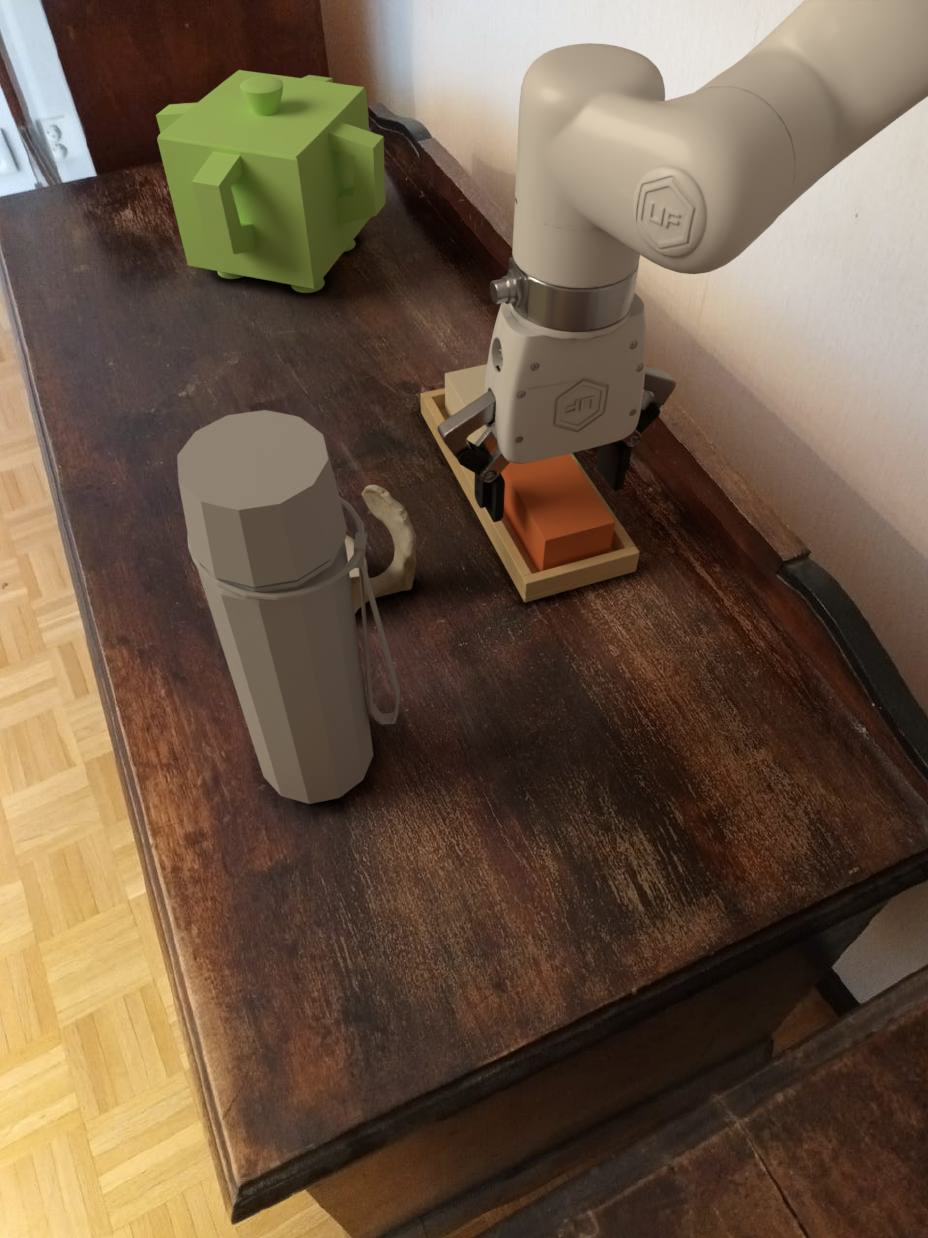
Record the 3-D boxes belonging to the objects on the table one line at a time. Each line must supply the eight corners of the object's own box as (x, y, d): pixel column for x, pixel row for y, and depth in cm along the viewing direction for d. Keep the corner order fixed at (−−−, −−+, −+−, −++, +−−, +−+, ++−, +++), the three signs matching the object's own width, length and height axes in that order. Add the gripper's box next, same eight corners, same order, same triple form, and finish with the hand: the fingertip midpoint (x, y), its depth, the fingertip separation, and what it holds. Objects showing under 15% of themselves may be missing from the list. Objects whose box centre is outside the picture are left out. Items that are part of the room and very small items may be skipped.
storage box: (340, 340, 88) (319, 156, 75) (132, 299, 93) (78, 119, 79) (426, 218, 103) (422, 47, 90) (244, 188, 108) (214, 21, 95)
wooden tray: (636, 571, 69) (640, 552, 68) (524, 603, 67) (526, 583, 66) (516, 391, 83) (517, 371, 82) (420, 412, 81) (420, 393, 80)
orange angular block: (608, 560, 69) (615, 522, 66) (541, 578, 68) (545, 540, 65) (554, 476, 75) (559, 437, 72) (492, 491, 74) (493, 453, 71)
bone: (268, 603, 65) (295, 467, 61) (308, 580, 71) (335, 455, 67) (379, 645, 63) (413, 508, 60) (410, 618, 69) (443, 492, 66)
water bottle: (250, 813, 56) (142, 517, 37) (271, 706, 61) (186, 397, 42) (400, 818, 56) (371, 523, 37) (409, 710, 61) (387, 401, 42)
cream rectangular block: (548, 468, 76) (552, 429, 73) (486, 484, 74) (487, 445, 71) (503, 398, 82) (505, 359, 79) (445, 411, 80) (444, 372, 77)
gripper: (460, 346, 52) (459, 556, 65) (729, 289, 56) (677, 498, 69) (417, 279, 56) (425, 488, 69) (669, 230, 60) (631, 438, 73)
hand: (550, 493), depth 69 cm, fingers open, 9 cm apart
